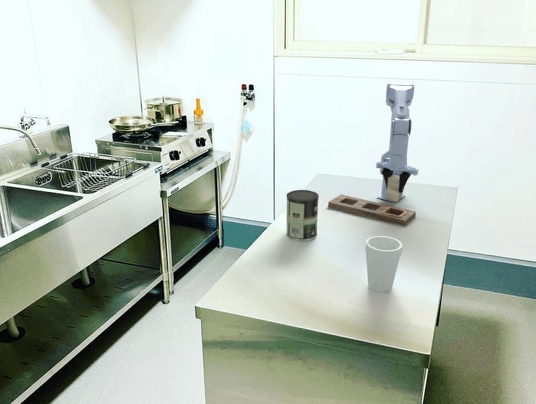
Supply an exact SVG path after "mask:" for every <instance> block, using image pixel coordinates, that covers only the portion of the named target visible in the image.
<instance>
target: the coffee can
mask: <svg viewBox="0 0 536 404" xmlns="http://www.w3.org/2000/svg"><path fill="white" fill-rule="evenodd" d="M319 197H320V195H319V194H318V193H317V192H316V191H312V190H309V189H297V190H292V191H288V192H287V193H286V237H287V238H288V239H290V240H292V241H295V242H296V241H297V242H309V241H313V240H315V239H316V238H317V237H318V214H319V211H318V210H319V209H318V208H319Z"/></svg>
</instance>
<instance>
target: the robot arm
mask: <svg viewBox="0 0 536 404" xmlns="http://www.w3.org/2000/svg"><path fill="white" fill-rule="evenodd" d="M414 94H415V84H414V83H413V82H411V83H410V82H408V83H407V82H387V84H386V92H385V104H386V106H388V107H390V112H391V117H390V118H391V120H390V133H389V134H390V135H389V148H388V150H387V151H385V152H384V153H382V155H381V158H380V161H378V162H376V165H375V168H376V169H379V174H380V175H382V181H381V182H382V184H381V192H380V194H379V195H377V199H379V200H385V201H387V202H388V201H389V202H393V203H397V202H396V201H392V200H388V199H386V196H387V185H388V177H390V176H392V175H397V176H399V177H400V186H399V193H402V198H401V199H403V198H404V197H405V196H406V194H405V193H404V189H405V186H406V185H407V182H408V180H409V179H410V177H411V176H412V175H413V176H417V175H419V168H416V167H412V166H410V165H408V157H407V156H408V147H409V138H410V136H411V133H412V126H413V125H412V123H413V122H412V118H411V117H410V108H409V107H411V105H412V103H413V100H414V96H415V95H414Z"/></svg>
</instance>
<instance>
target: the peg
mask: <svg viewBox="0 0 536 404" xmlns="http://www.w3.org/2000/svg"><path fill="white" fill-rule="evenodd" d="M399 186H400V177H399V176H397V175H392V176H390V177H388V185H387V196H386V199H388V200H392V201H391V202H393V201H396V202H395V203H398V201H400V200H401V199H403V198H402V193H399ZM388 200H387V201H388Z"/></svg>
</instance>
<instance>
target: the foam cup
mask: <svg viewBox="0 0 536 404" xmlns="http://www.w3.org/2000/svg"><path fill="white" fill-rule="evenodd" d="M402 251H403V243H402V241H400V240H399V239H397V238H394V237H391V236H385V235H375V236H371V237H368V238H367V239H366V240H365V250H364V252H365V258H366V259H365V260H366V271H367V272H366V273H367V286H368V289H369V290H371V291H373V292H376V293H381V294H384V293H389V292H390V291H392V289H393V285H394V281H395V277H396V273H397V271H398V266H399V262H400V258H401V256H402Z"/></svg>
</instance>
